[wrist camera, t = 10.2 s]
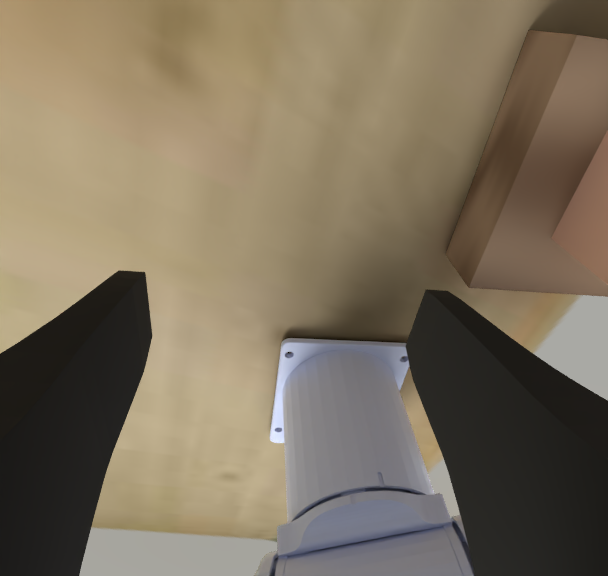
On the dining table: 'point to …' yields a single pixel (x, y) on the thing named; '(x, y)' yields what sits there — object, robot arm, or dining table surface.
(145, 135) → the dining table surface
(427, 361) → the robot arm
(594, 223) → the terracotta cube
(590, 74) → the walnut base
